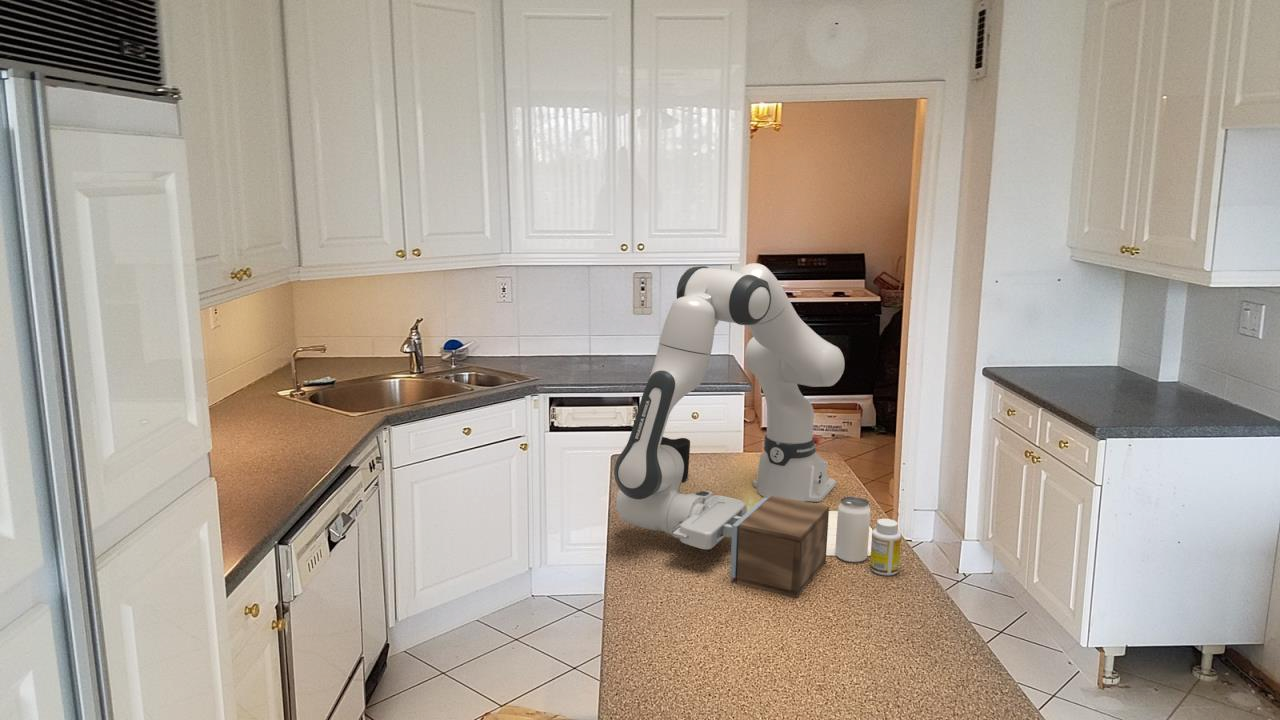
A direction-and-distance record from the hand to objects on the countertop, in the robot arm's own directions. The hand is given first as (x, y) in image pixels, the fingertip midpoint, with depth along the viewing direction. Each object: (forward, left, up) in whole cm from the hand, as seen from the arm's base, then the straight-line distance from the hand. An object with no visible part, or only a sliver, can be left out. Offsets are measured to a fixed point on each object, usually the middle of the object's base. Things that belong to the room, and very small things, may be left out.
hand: (751, 530), depth 182 cm
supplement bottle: (-14, +23, -7) cm, 27 cm away
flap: (+2, +1, -6) cm, 6 cm away
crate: (0, +8, -7) cm, 10 cm away
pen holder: (-31, -42, -7) cm, 53 cm away
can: (-16, +15, -7) cm, 23 cm away
